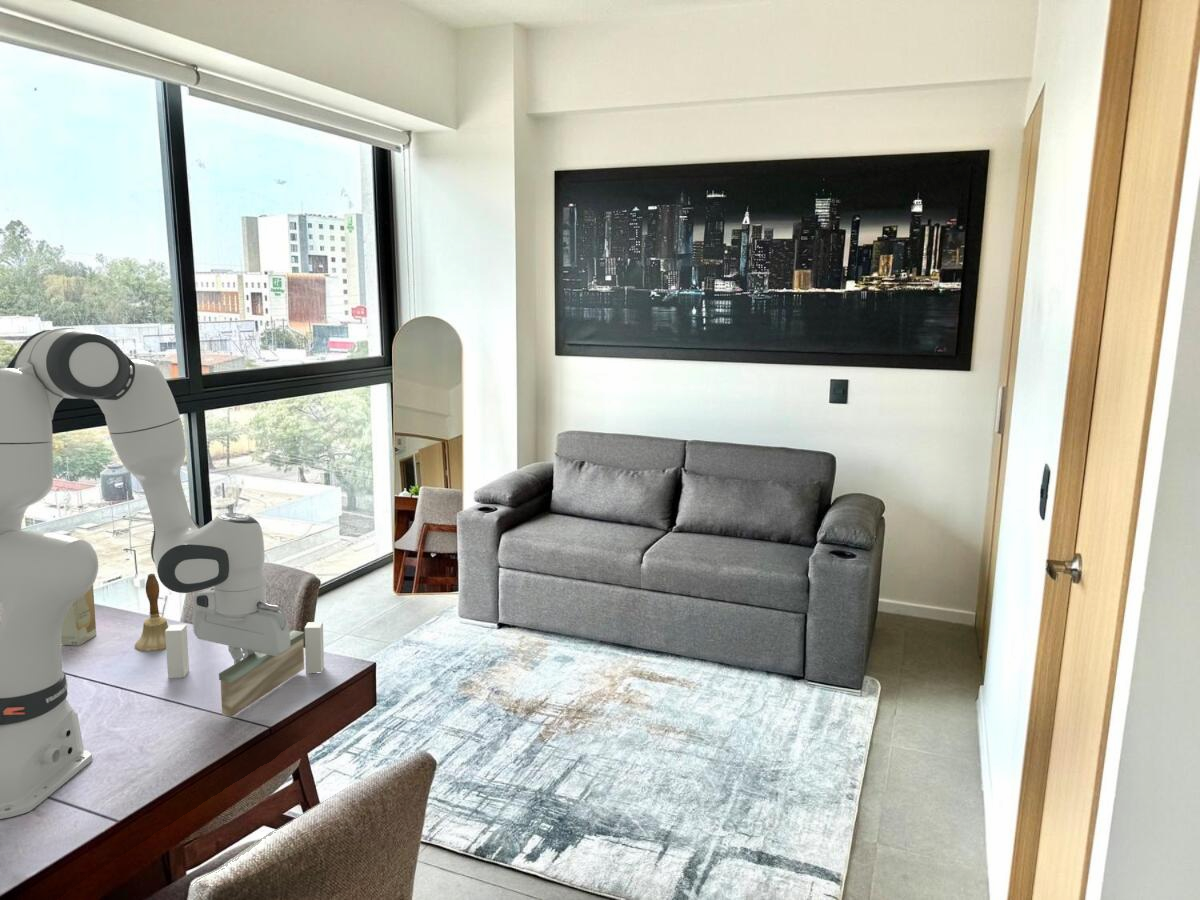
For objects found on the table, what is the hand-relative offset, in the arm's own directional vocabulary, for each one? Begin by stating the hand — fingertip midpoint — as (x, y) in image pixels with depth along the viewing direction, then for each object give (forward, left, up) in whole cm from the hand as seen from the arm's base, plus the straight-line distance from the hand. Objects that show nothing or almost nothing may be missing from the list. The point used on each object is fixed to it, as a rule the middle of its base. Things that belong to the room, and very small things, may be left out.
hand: (243, 667), depth 157 cm
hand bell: (+27, +26, -6) cm, 38 cm away
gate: (+1, -4, -5) cm, 6 cm away
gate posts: (+11, +3, -6) cm, 13 cm away
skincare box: (+30, +43, -6) cm, 52 cm away
